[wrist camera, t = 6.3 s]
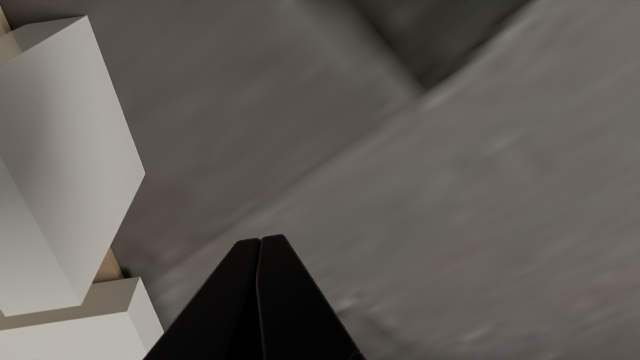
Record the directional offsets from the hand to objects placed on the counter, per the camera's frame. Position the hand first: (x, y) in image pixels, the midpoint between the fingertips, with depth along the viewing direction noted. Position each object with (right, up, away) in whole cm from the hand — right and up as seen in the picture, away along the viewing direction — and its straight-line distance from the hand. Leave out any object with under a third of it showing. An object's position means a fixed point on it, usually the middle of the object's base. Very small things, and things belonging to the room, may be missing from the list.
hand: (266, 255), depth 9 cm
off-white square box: (-6, -6, +12) cm, 15 cm away
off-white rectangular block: (-7, +4, +8) cm, 12 cm away
